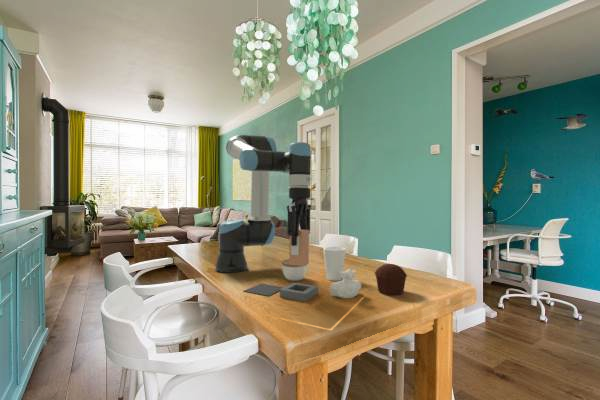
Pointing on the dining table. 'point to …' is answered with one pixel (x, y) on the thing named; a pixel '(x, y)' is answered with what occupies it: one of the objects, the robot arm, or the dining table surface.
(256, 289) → the mat
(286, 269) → the lidded jar
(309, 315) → the dining table surface
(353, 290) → the bust
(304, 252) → the block
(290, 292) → the holder
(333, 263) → the foam cup
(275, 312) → the dining table surface
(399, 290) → the muffin
